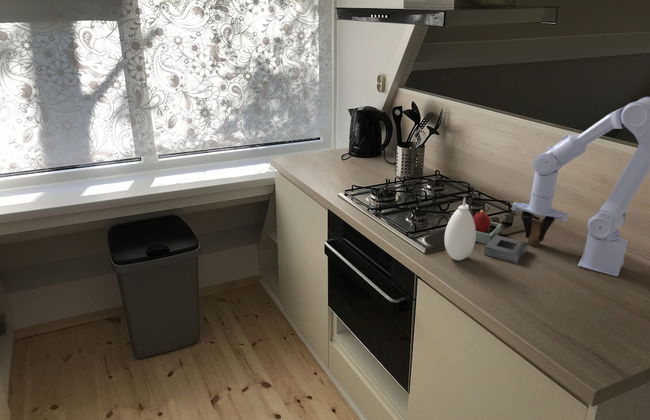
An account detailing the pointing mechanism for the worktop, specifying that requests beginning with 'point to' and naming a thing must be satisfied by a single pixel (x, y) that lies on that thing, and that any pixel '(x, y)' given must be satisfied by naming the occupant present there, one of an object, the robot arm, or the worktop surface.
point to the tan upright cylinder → (535, 233)
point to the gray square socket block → (506, 249)
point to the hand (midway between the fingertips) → (534, 238)
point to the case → (488, 237)
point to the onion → (481, 222)
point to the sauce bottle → (460, 233)
